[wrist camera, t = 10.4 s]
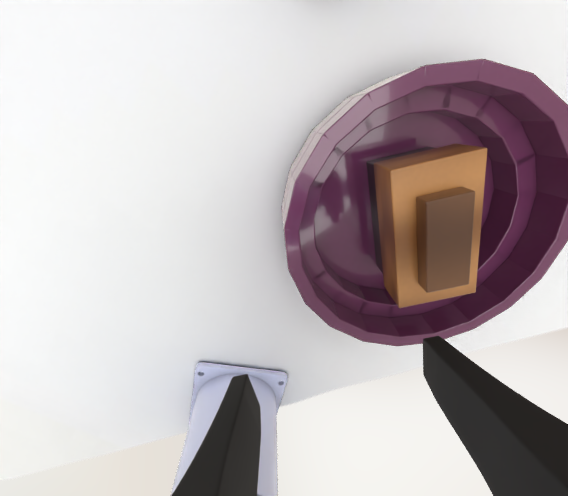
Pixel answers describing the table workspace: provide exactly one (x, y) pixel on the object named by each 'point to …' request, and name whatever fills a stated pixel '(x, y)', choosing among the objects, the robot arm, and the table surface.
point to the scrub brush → (428, 221)
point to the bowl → (415, 135)
